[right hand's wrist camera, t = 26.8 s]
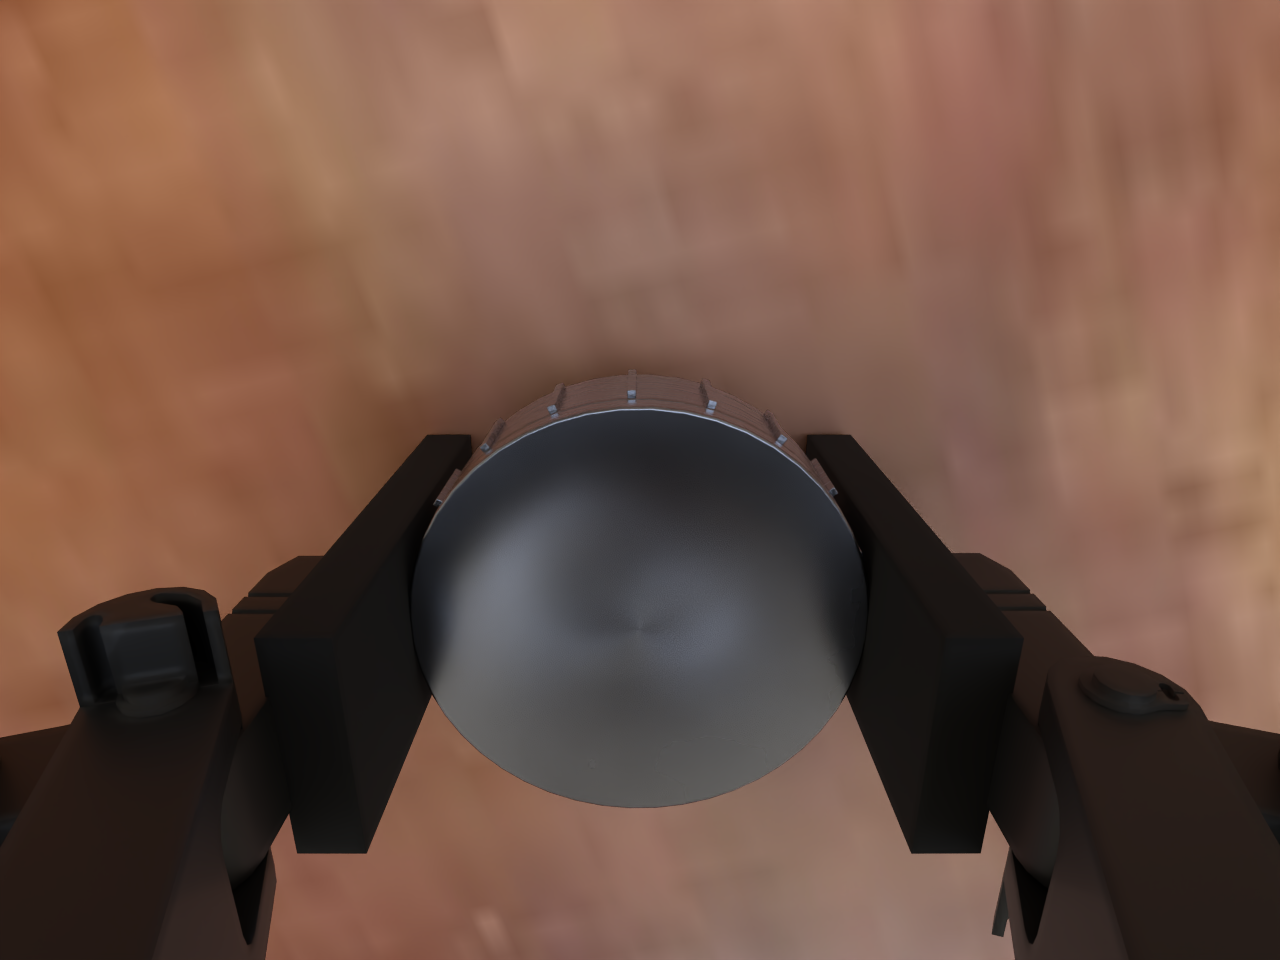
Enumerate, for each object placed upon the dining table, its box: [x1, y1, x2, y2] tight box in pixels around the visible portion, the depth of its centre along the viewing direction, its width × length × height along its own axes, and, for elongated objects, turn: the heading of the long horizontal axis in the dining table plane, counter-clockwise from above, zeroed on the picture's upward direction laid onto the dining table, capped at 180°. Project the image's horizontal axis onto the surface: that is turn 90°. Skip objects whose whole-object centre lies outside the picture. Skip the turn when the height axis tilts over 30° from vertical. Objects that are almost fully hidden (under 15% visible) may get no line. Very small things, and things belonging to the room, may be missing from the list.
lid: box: [409, 369, 869, 808], centre depth 11 cm, size 6×6×2 cm
